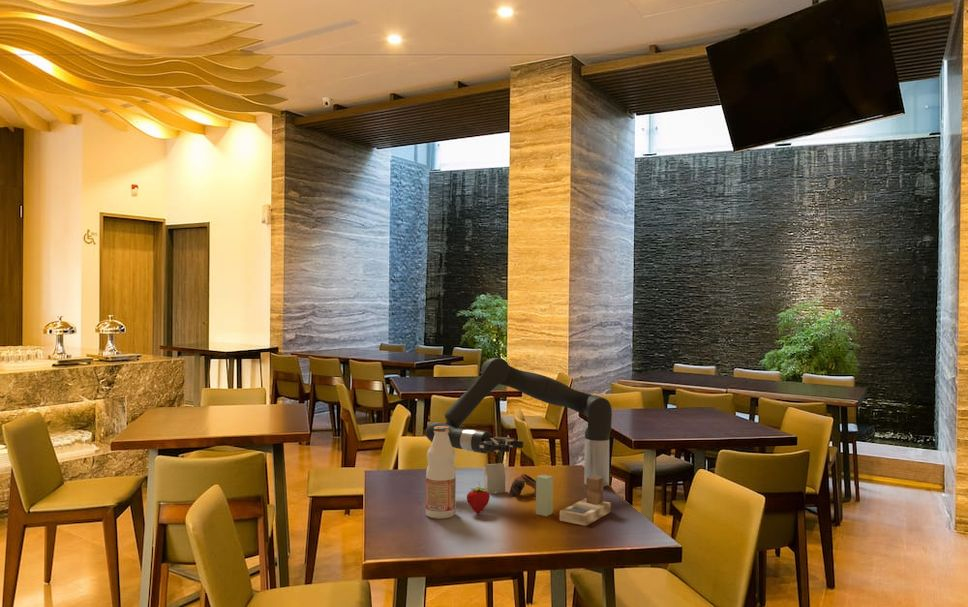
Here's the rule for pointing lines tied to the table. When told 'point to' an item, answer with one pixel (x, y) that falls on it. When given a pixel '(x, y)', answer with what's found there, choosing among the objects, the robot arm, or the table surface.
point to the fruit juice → (440, 476)
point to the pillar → (544, 495)
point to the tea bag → (494, 478)
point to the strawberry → (478, 499)
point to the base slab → (588, 505)
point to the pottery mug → (522, 484)
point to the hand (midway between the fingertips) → (516, 446)
